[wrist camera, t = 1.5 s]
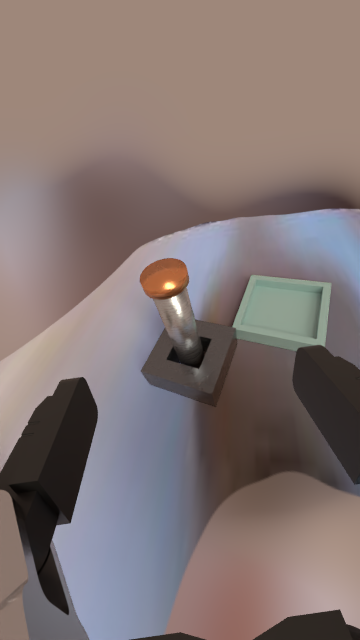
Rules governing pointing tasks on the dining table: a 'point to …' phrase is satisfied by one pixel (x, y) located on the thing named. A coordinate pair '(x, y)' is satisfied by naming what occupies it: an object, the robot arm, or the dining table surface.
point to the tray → (284, 312)
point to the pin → (174, 307)
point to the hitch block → (189, 380)
